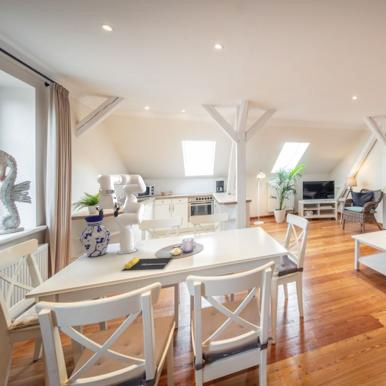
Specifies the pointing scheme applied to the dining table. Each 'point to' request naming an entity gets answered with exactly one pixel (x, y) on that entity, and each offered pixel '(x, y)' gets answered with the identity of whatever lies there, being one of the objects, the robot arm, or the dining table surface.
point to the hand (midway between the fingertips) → (108, 216)
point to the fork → (152, 264)
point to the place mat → (149, 261)
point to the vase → (95, 237)
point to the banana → (131, 263)
